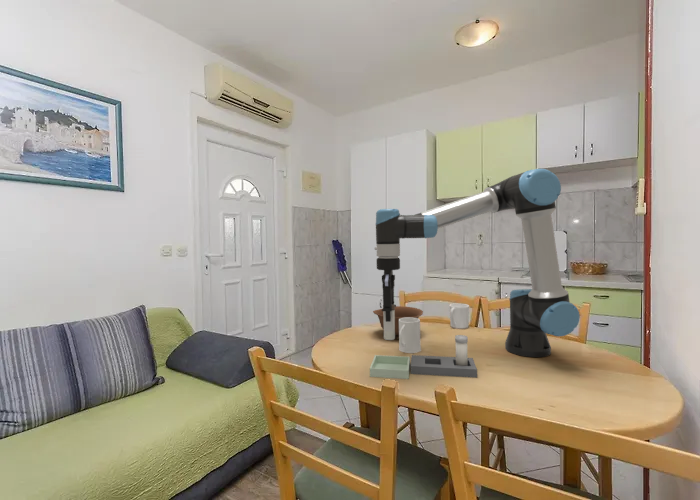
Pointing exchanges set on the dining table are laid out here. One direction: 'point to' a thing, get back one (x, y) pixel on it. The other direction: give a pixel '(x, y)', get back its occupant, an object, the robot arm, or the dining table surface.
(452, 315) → the mug
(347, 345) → the dining table surface
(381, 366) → the tray
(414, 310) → the bowl
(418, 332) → the mug
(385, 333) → the cylinder
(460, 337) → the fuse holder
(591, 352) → the dining table surface
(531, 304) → the robot arm
